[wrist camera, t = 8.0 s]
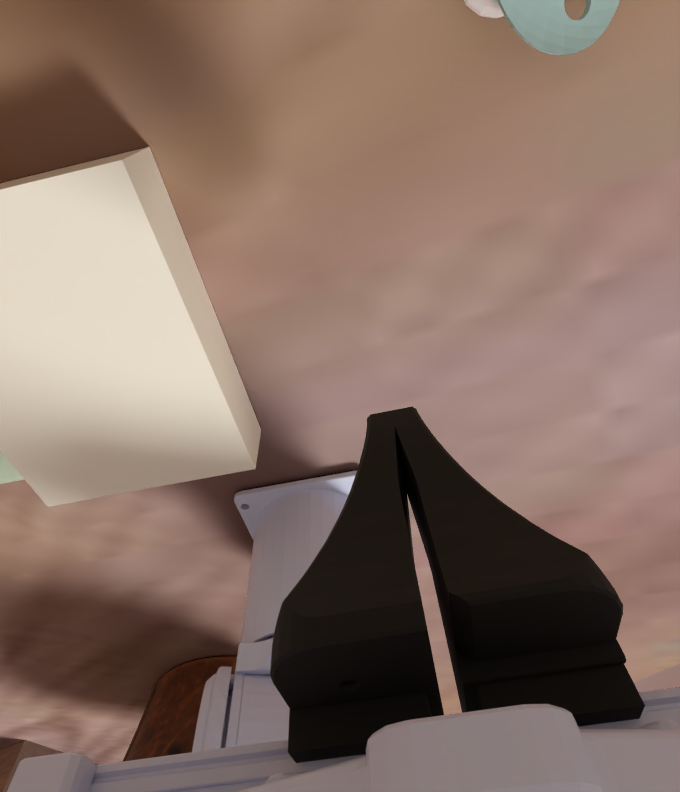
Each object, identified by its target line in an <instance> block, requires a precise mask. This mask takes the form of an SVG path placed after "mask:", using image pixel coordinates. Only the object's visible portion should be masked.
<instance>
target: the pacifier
mask: <svg viewBox="0 0 680 792" xmlns="http://www.w3.org/2000/svg"><path fill="white" fill-rule="evenodd" d="M463 1H464V2H465V4H466V5H467V6H468V7H469V8H470V9H472V10H473V11H474V12H475V13H477V14H478V15H479V16H485V17H491V18H499V17H502V16H505V17H506V19H507V20H508V22H509V24H510V25H511V27H512V28H513V29H514V31H515V32H516V33H517V34H518V35H519V36H520V37H521V39H523V40H524V41H525V42H526V43H528V44H529V45H530V46H532V47H533V48H535V49H537V50H539V51H541V52H544V53H548V54H552V55H570V54H573V53H577V52H580V51H582V50H583V49H585V48H587V47H589V46H590V45H592V44H593V43H594V42H595V41H596V40H597V39H598V38H599V37H600V36H601V34H602V33H603V32H604V31H605V30H606V28H607V27H608V25H609V23H610V21H611V19H612V17H613V15H614V13H615V11H616V9H617V7H618V4H619V1H620V0H586V9H585V12H584V14H583V15H582V16H581V18H580V19H578V20H576V21H575V20H572V19H570V18H569V17H568V16H567V14H566V12H565V9H564V1H565V0H463Z"/></svg>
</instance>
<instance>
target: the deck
mask: <svg viewBox="0 0 680 792" xmlns="http://www.w3.org/2000/svg"><path fill="white" fill-rule="evenodd" d="M260 435H261V428H260V426H259V423H258V420H257V418H256V415H255V413H254V410H253V408H252V405H251V403H250V400H249V398H248V395H247V393H246V390H245V388H244V385H243V383H242V380H241V377H240V375H239V372H238V370H237V367H236V365H235V362H234V360H233V357H232V355H231V352H230V350H229V347H228V345H227V342H226V339H225V337H224V334H223V332H222V329H221V327H220V324H219V322H218V319H217V317H216V314H215V312H214V309H213V307H212V304H211V302H210V299H209V296H208V294H207V291H206V289H205V286H204V284H203V281H202V279H201V276H200V274H199V271H198V269H197V266H196V264H195V261H194V259H193V256H192V253H191V251H190V248H189V246H188V243H187V241H186V238H185V236H184V233H183V231H182V228H181V226H180V223H179V221H178V218H177V215H176V213H175V210H174V208H173V205H172V203H171V200H170V198H169V195H168V193H167V190H166V188H165V185H164V183H163V180H162V178H161V175H160V172H159V170H158V167H157V165H156V162H155V160H154V157H153V155H152V152H151V150H150V147H146V148H142V149H138V150H134V151H130V152H126V153H122V154H118V155H114V156H109V157H105V158H101V159H97V160H93V161H89V162H85V163H81V164H77V165H73V166H69V167H65V168H61V169H56V170H52V171H48V172H44V173H40V174H36V175H32V176H28V177H24V178H20V179H16V180H12V181H8V182H4V183H0V451H1V452H2V453H3V455H4V456H5V457H6V458H7V459H8V460H9V462H10V463H11V464H12V465H13V466H14V467H15V469H16V470H17V471H18V472H19V473H20V475H21V476H22V477H23V478H24V479H25V480H26V482H27V483H28V484H29V485H30V486H31V488H32V489H33V490H34V491H35V492H36V493H37V495H38V496H39V497H40V498H41V499H42V500H43V502H44V503H45V504H46V505H47V506H48V507H50V506H55V505H61V504H66V503H72V502H77V501H83V500H88V499H93V498H99V497H104V496H110V495H115V494H121V493H126V492H132V491H137V490H143V489H148V488H154V487H159V486H165V485H170V484H176V483H181V482H187V481H192V480H198V479H203V478H209V477H214V476H220V475H225V474H231V473H236V472H242V471H247V470H253V469H256V462H257V456H258V449H259V442H260Z"/></svg>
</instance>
